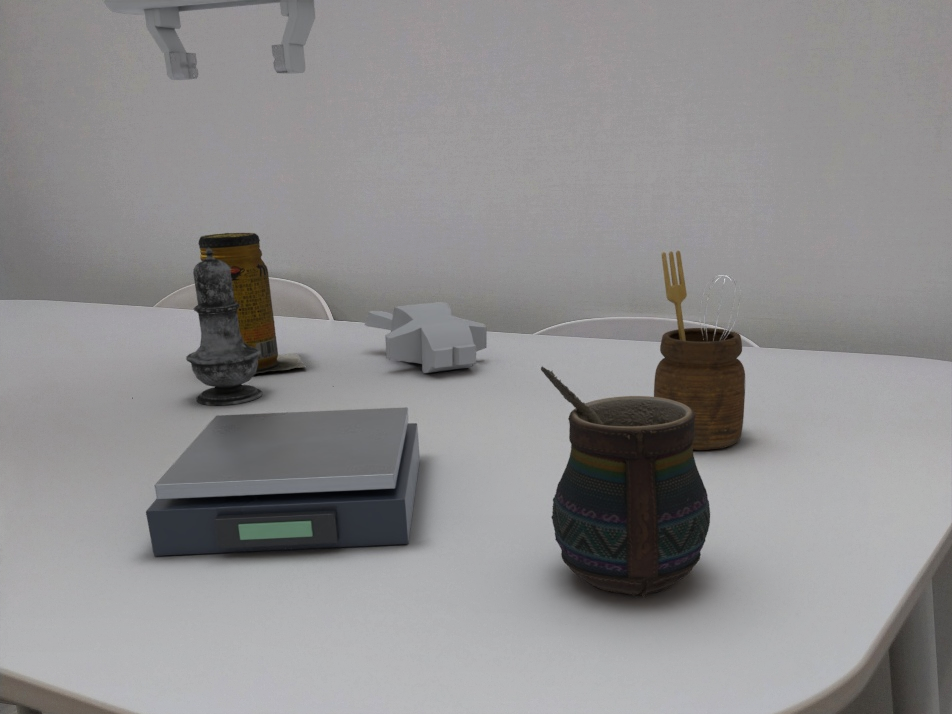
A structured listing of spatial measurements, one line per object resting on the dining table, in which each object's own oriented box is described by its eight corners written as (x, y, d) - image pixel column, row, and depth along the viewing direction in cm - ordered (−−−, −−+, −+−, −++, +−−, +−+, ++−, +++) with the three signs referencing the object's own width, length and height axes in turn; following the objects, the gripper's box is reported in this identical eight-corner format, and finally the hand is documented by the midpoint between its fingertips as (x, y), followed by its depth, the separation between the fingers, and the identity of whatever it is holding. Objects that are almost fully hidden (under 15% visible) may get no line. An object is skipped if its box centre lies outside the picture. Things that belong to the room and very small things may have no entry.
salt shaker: (177, 400, 79) (153, 250, 75) (234, 385, 84) (214, 242, 79) (224, 409, 76) (202, 252, 72) (281, 393, 81) (262, 244, 76)
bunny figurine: (402, 336, 81) (352, 292, 93) (404, 394, 83) (355, 343, 95) (505, 324, 84) (445, 283, 96) (505, 380, 87) (445, 333, 99)
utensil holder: (694, 458, 61) (702, 264, 57) (632, 435, 66) (634, 255, 62) (761, 441, 64) (774, 255, 60) (696, 420, 69) (703, 247, 65)
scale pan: (156, 499, 49) (154, 485, 49) (217, 427, 61) (215, 415, 61) (395, 489, 49) (394, 474, 49) (408, 419, 61) (407, 407, 61)
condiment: (207, 364, 92) (187, 233, 88) (297, 355, 95) (282, 227, 90) (211, 380, 86) (190, 240, 81) (307, 370, 88) (292, 234, 84)
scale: (148, 562, 49) (140, 516, 48) (218, 468, 62) (212, 431, 61) (407, 550, 49) (404, 504, 48) (419, 459, 63) (417, 422, 62)
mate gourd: (727, 605, 42) (740, 381, 39) (556, 616, 42) (552, 390, 38) (687, 541, 49) (694, 345, 45) (538, 550, 49) (534, 352, 45)
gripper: (55, -140, 66) (92, 81, 71) (309, -184, 59) (330, 67, 64) (122, -120, 72) (152, 84, 77) (362, -158, 64) (378, 71, 69)
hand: (235, 76), depth 70 cm, fingers open, 8 cm apart
